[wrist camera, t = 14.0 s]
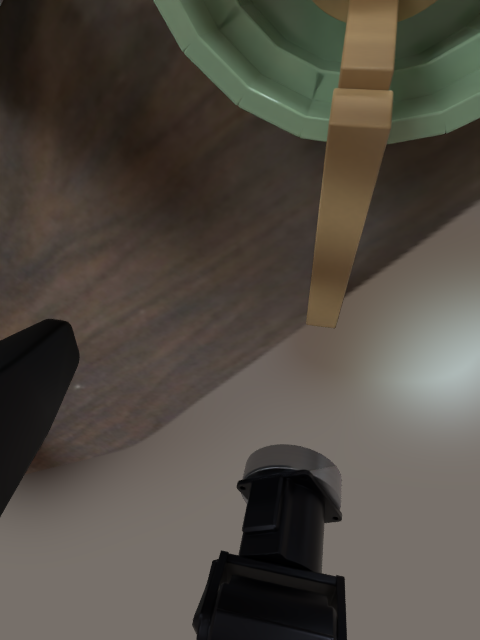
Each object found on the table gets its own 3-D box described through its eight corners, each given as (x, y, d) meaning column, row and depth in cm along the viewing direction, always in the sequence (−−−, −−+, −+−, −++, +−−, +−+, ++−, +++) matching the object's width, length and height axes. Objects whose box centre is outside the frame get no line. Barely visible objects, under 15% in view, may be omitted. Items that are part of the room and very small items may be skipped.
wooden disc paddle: (303, -264, 9) (246, -79, 7) (535, -283, 9) (572, -85, 6) (292, 204, 24) (272, 320, 21) (378, 211, 23) (370, 333, 20)
